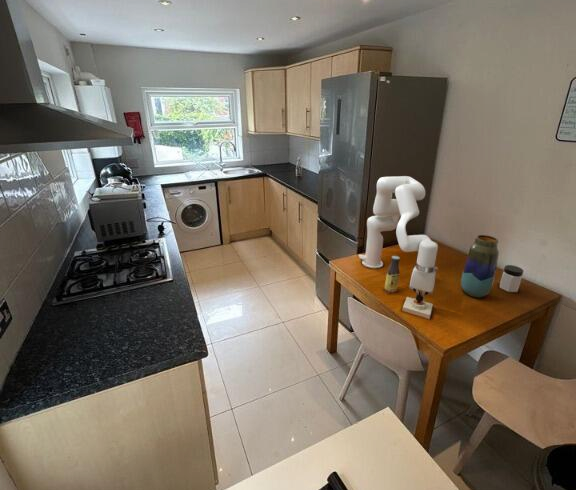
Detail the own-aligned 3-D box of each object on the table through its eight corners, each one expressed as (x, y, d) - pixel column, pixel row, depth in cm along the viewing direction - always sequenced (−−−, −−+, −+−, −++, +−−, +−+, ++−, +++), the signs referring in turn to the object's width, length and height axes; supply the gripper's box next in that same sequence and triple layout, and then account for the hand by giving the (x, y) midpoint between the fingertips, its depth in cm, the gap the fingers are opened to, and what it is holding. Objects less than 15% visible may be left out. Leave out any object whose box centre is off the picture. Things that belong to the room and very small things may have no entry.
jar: (521, 290, 160) (528, 270, 156) (512, 294, 157) (518, 274, 153) (504, 282, 168) (509, 263, 164) (495, 286, 165) (500, 266, 160)
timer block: (402, 310, 144) (403, 303, 143) (406, 300, 152) (407, 293, 151) (429, 319, 138) (430, 311, 137) (432, 307, 146) (433, 300, 145)
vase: (494, 295, 156) (509, 240, 145) (480, 303, 149) (495, 246, 138) (467, 283, 167) (480, 231, 156) (453, 290, 160) (465, 236, 149)
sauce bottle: (390, 295, 155) (395, 261, 148) (381, 289, 161) (385, 256, 154) (399, 292, 158) (404, 258, 151) (390, 286, 163) (395, 253, 157)
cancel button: (413, 305, 144) (414, 302, 143) (414, 301, 146) (415, 298, 146) (421, 307, 142) (422, 304, 141) (422, 303, 145) (423, 300, 144)
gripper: (443, 267, 136) (437, 302, 143) (409, 260, 144) (404, 293, 150) (442, 274, 130) (435, 310, 137) (406, 266, 138) (401, 300, 144)
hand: (419, 301), depth 143 cm, fingers closed
